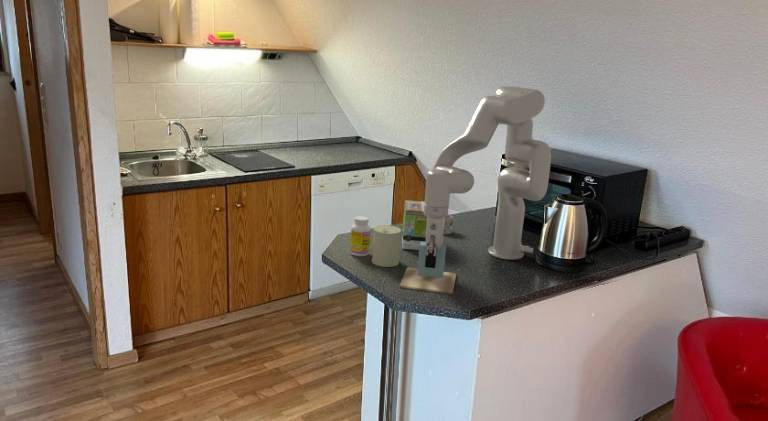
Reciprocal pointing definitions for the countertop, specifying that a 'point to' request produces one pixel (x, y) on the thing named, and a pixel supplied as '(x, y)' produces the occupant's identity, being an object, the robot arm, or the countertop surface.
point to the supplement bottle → (360, 237)
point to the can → (386, 246)
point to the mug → (448, 224)
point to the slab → (440, 261)
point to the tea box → (413, 225)
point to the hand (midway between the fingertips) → (431, 262)
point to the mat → (428, 282)
